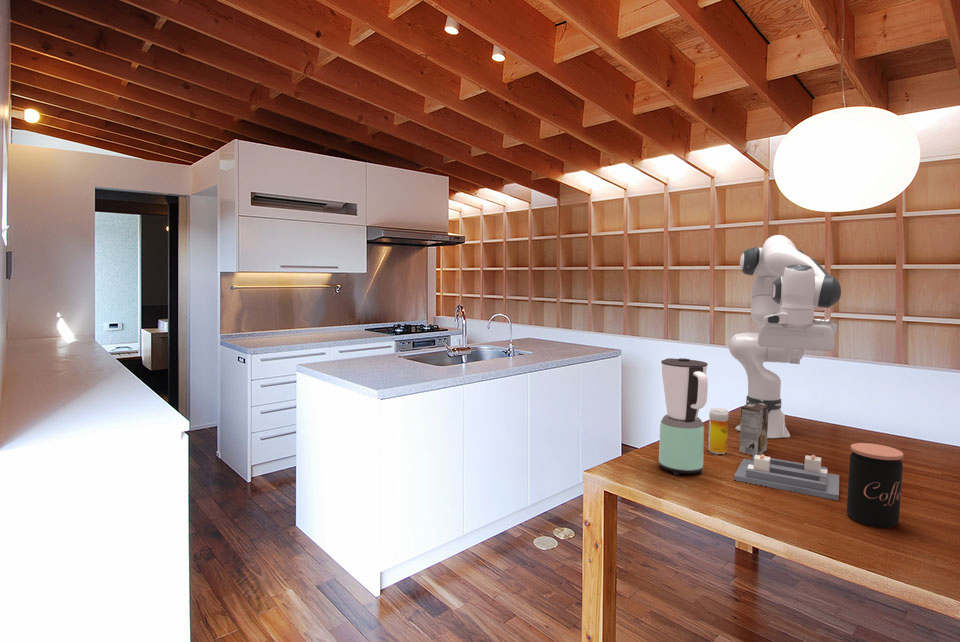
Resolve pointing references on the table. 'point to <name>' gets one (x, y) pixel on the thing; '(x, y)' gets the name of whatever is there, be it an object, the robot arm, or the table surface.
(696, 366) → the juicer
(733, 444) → the table surface
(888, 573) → the table surface
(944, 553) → the table surface
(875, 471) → the coffee jar
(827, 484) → the switch bank
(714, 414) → the beer can
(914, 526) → the table surface
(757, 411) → the coffee box
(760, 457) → the tab
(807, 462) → the tab
